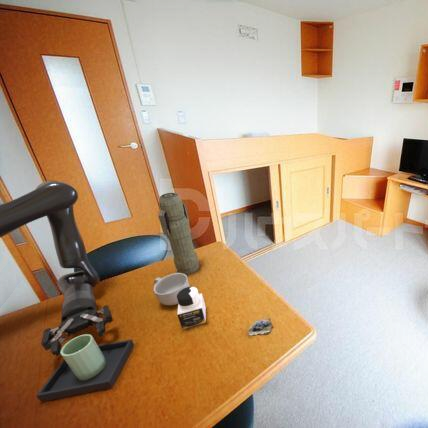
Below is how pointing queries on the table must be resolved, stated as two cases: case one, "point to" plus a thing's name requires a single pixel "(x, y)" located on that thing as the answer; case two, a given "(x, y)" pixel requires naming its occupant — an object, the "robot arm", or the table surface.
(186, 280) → the teacup
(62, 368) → the tray
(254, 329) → the blueberries
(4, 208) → the robot arm
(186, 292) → the medicine bottle
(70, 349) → the celadon cup
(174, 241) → the thermos
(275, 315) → the table surface
